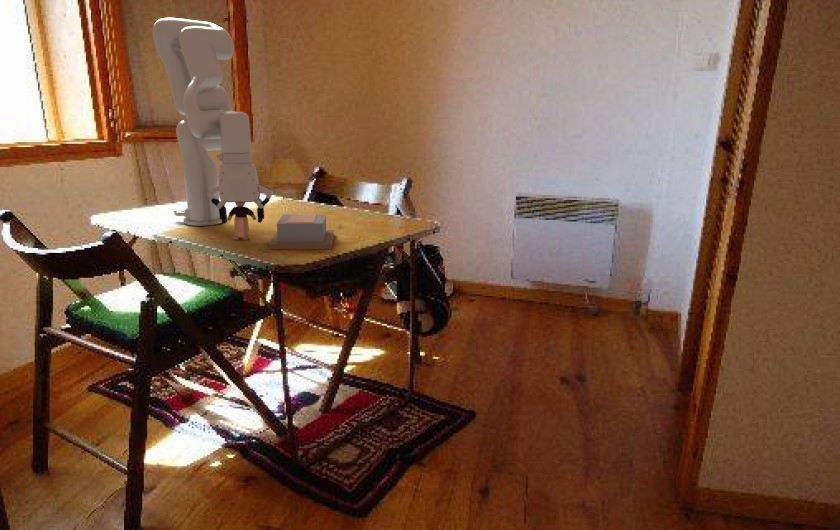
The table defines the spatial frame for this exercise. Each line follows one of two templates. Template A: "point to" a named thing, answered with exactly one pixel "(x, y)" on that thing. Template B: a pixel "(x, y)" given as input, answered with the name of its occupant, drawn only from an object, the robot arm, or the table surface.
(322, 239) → the plinth
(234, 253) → the table surface
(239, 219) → the grandmother figurine
